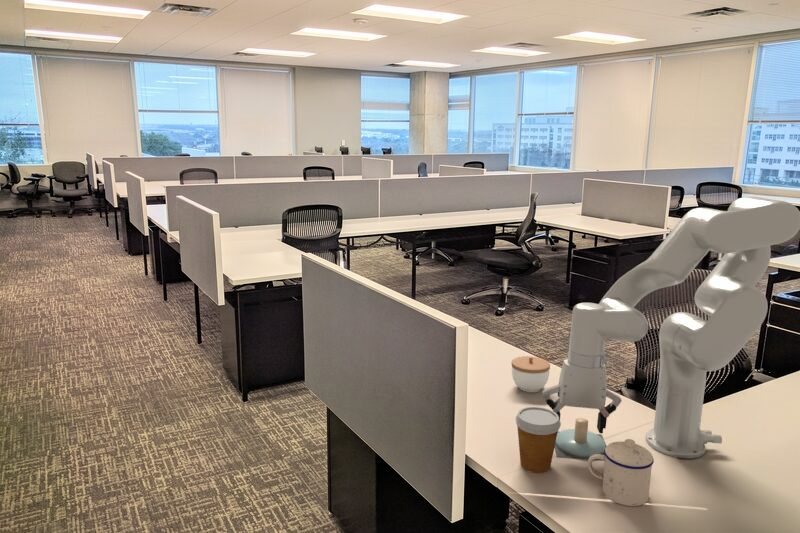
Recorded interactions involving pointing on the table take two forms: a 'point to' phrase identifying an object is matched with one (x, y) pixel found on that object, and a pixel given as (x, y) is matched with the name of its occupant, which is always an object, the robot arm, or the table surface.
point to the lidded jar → (530, 373)
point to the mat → (564, 455)
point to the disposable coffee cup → (537, 437)
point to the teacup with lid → (625, 472)
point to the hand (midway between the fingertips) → (578, 428)
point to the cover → (580, 440)
